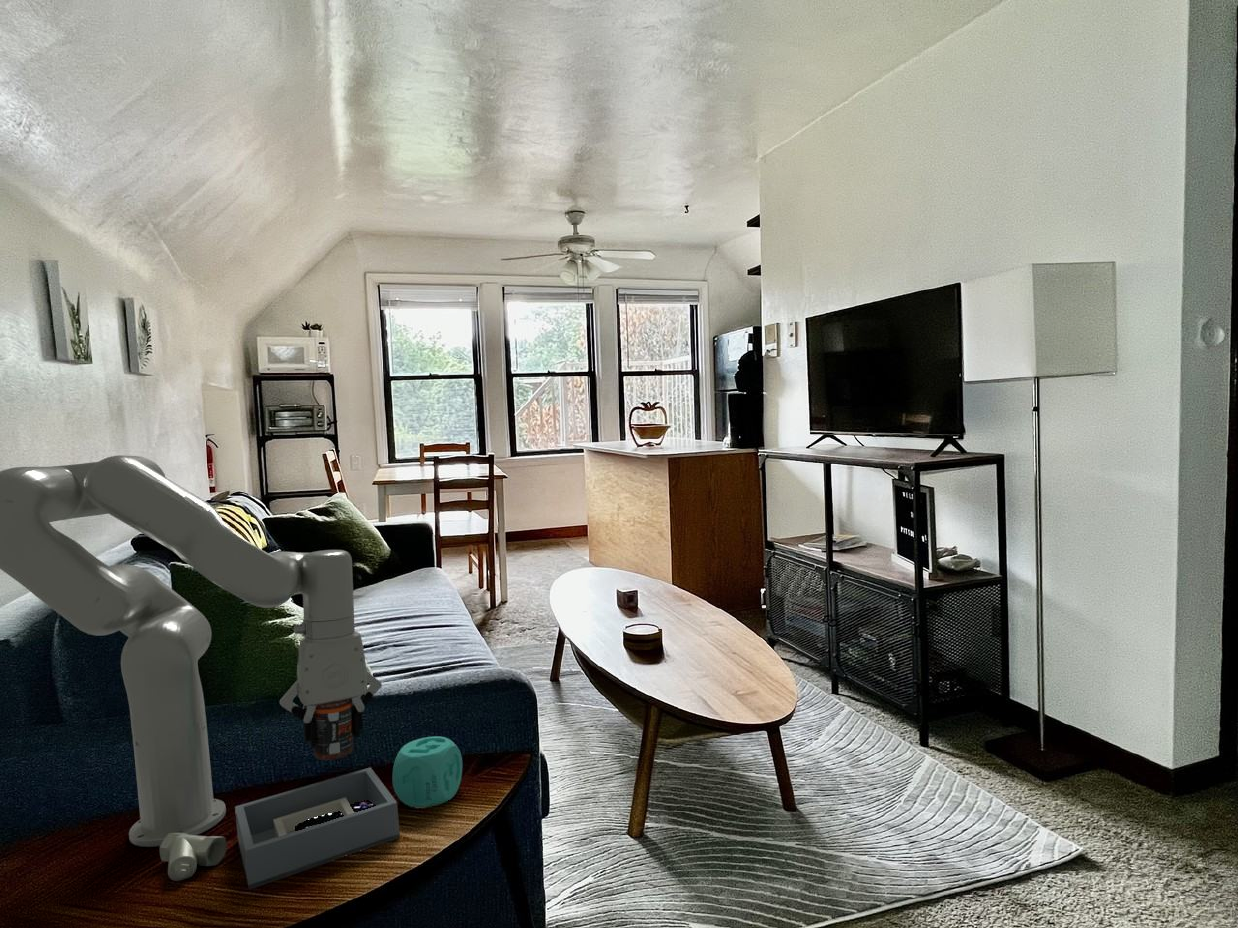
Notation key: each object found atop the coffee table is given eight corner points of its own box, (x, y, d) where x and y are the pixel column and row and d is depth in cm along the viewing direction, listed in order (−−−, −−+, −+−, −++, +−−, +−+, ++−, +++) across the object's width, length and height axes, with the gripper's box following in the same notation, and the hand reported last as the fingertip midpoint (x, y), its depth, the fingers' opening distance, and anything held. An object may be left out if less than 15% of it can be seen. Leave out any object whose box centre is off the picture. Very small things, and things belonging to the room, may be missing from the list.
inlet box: (238, 840, 106) (234, 806, 106) (373, 798, 116) (370, 767, 116) (249, 889, 93) (245, 850, 93) (400, 837, 103) (396, 802, 103)
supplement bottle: (345, 761, 116) (342, 689, 116) (307, 762, 116) (304, 690, 116) (359, 746, 122) (356, 677, 122) (323, 747, 122) (320, 679, 122)
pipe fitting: (187, 889, 95) (228, 856, 102) (182, 861, 95) (224, 830, 101) (140, 883, 98) (182, 851, 104) (135, 856, 97) (178, 825, 104)
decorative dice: (393, 808, 112) (389, 756, 112) (419, 783, 120) (415, 735, 120) (442, 810, 110) (437, 757, 110) (464, 785, 118) (460, 736, 118)
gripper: (273, 641, 110) (278, 761, 111) (390, 623, 120) (394, 734, 120) (267, 632, 117) (272, 745, 117) (378, 616, 126) (382, 721, 126)
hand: (334, 738), depth 118 cm, fingers closed on supplement bottle, 6 cm apart
